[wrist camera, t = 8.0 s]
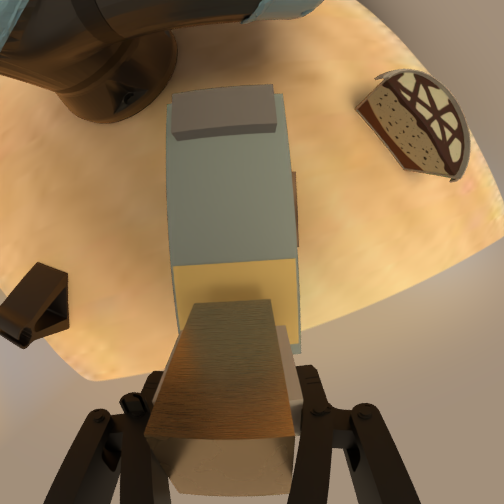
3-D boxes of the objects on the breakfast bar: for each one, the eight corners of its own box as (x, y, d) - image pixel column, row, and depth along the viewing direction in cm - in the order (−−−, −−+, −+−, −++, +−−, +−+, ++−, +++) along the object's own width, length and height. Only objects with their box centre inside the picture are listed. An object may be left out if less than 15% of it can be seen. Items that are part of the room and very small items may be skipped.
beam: (171, 111, 22) (160, 94, 19) (281, 101, 22) (285, 82, 19) (186, 352, 23) (176, 369, 20) (298, 346, 23) (305, 363, 20)
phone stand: (69, 327, 34) (26, 372, 22) (41, 314, 33) (-4, 352, 22) (68, 273, 31) (12, 309, 20) (38, 261, 31) (-17, 290, 19)
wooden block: (194, 303, 18) (143, 434, 7) (270, 298, 18) (295, 435, 7) (204, 363, 19) (179, 493, 9) (272, 360, 19) (290, 493, 9)
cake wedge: (436, 150, 28) (488, 147, 18) (410, 179, 29) (463, 183, 19) (376, 73, 26) (418, 44, 16) (345, 99, 27) (383, 71, 17)
